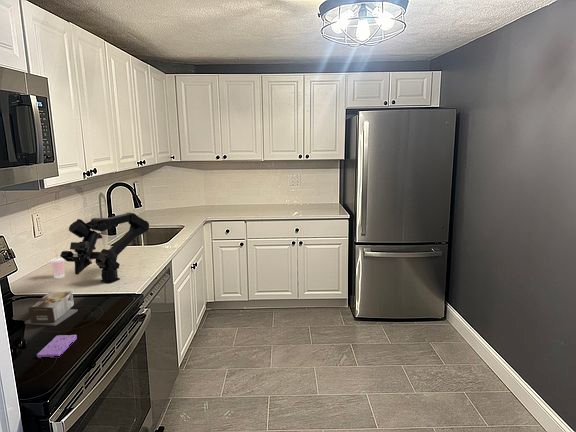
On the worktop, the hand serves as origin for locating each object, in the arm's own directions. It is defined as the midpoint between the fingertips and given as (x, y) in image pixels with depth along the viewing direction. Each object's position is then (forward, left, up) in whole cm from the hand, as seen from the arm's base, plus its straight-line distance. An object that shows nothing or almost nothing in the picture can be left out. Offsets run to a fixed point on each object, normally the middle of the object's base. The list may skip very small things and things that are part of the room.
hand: (76, 274), depth 180 cm
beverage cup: (-12, -33, -11) cm, 36 cm away
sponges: (+31, +34, -11) cm, 47 cm away
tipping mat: (+18, +9, -10) cm, 23 cm away
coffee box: (+10, +4, -7) cm, 12 cm away
